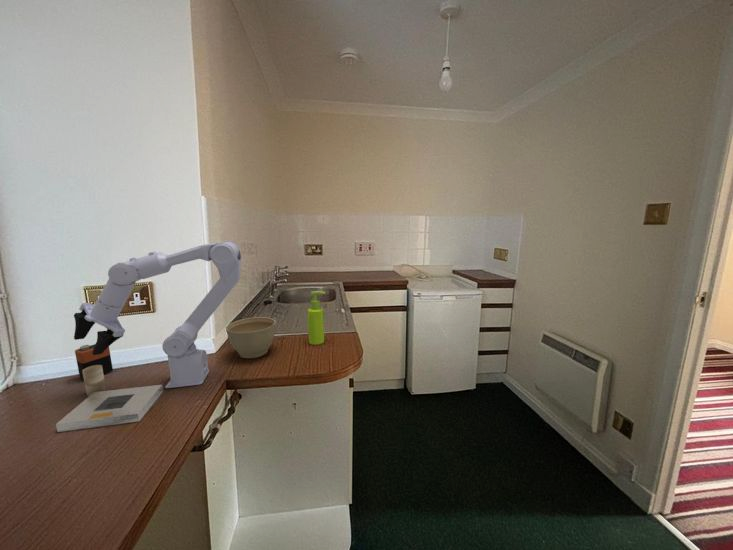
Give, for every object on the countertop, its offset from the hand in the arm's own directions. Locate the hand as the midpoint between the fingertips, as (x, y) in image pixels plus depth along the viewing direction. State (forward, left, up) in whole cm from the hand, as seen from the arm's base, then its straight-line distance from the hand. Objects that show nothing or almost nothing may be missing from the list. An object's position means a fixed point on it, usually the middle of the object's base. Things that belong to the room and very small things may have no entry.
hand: (87, 346), depth 80 cm
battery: (+6, -11, -14) cm, 18 cm away
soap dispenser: (-62, -21, -14) cm, 67 cm away
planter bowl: (-39, -16, -14) cm, 44 cm away
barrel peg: (0, 0, -13) cm, 13 cm away
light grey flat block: (-10, +11, -13) cm, 20 cm away
